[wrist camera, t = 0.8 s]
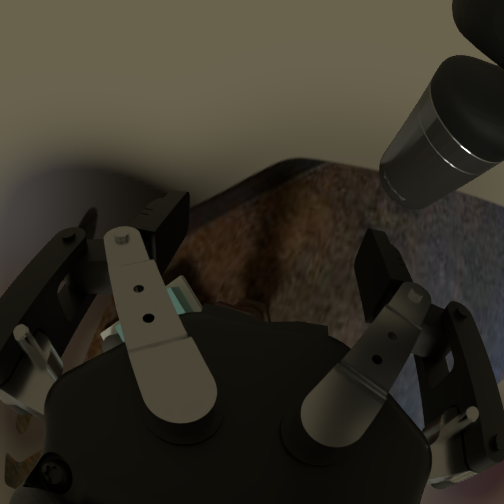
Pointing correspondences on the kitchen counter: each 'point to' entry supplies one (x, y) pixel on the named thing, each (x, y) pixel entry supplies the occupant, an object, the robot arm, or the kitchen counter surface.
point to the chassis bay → (181, 300)
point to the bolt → (249, 308)
